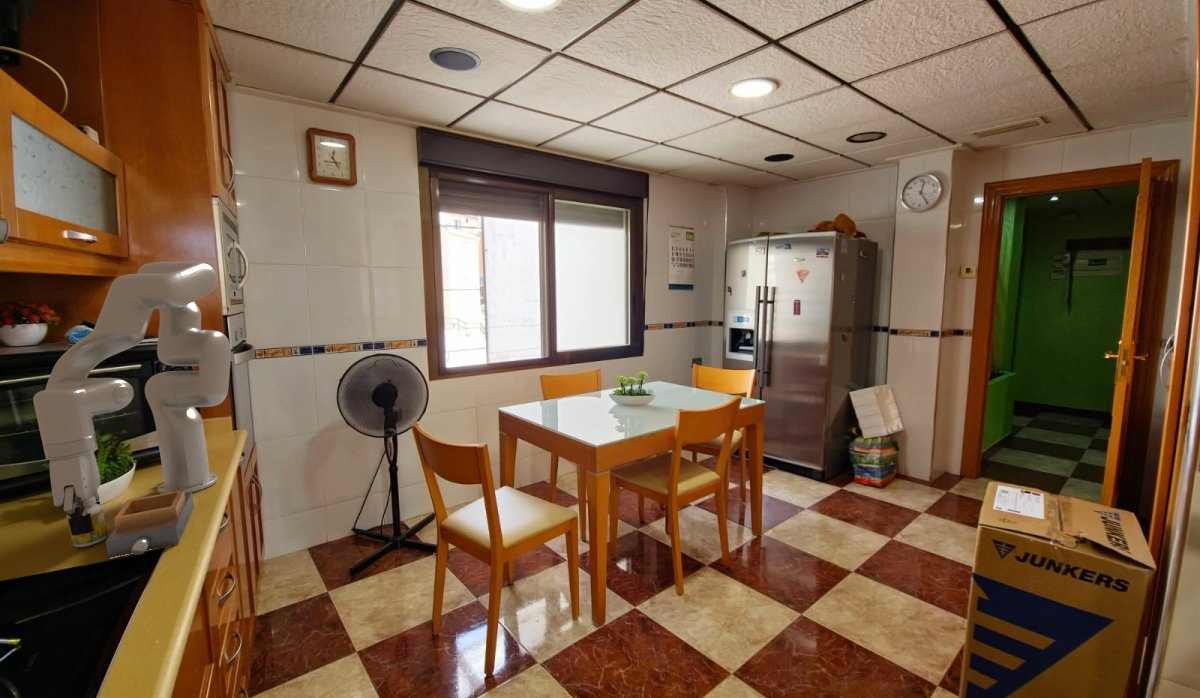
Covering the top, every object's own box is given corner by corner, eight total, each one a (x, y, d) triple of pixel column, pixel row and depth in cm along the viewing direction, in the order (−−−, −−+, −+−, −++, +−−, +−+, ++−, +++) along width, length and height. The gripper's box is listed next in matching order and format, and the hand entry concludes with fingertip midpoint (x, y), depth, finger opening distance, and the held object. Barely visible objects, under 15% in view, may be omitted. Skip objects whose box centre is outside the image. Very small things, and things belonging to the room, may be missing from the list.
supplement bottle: (112, 531, 111) (104, 491, 109) (101, 544, 106) (92, 502, 105) (80, 537, 109) (71, 496, 107) (67, 550, 104) (58, 507, 102)
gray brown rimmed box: (134, 518, 118) (130, 492, 117) (193, 506, 124) (190, 481, 123) (104, 567, 99) (98, 537, 98) (175, 551, 105) (171, 522, 103)
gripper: (61, 437, 109) (77, 513, 112) (26, 464, 95) (46, 551, 98) (108, 430, 113) (122, 505, 116) (81, 456, 98) (98, 540, 102)
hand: (87, 525), depth 107 cm, fingers closed on supplement bottle, 5 cm apart
